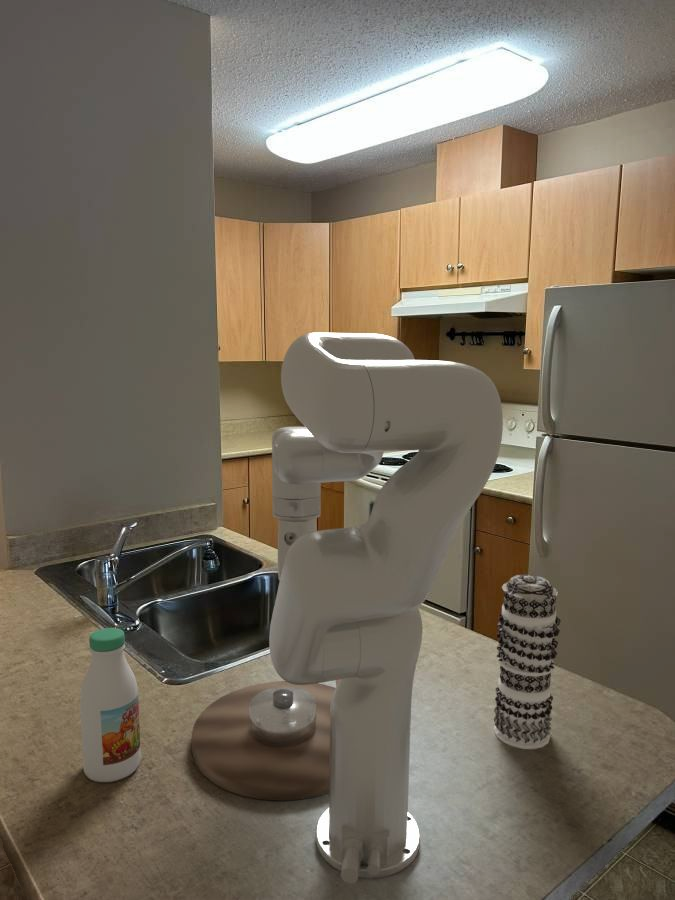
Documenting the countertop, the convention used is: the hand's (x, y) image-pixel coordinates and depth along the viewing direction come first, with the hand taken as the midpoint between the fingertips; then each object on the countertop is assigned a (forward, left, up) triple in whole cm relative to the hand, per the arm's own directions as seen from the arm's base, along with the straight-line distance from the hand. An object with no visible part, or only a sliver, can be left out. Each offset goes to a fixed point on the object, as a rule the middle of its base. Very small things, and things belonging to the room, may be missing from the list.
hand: (296, 618), depth 106 cm
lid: (-8, +1, -14) cm, 16 cm away
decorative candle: (-1, -36, -17) cm, 39 cm away
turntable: (-8, 0, -16) cm, 18 cm away
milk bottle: (-18, +23, -17) cm, 33 cm away
